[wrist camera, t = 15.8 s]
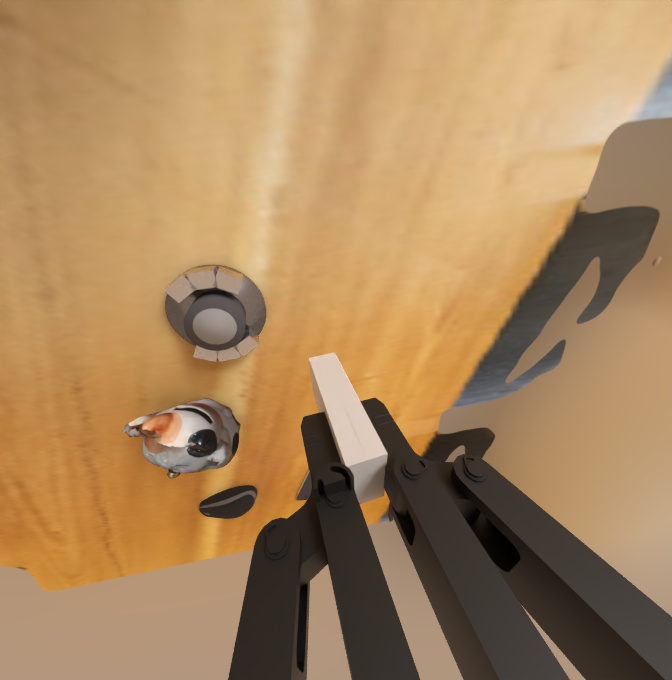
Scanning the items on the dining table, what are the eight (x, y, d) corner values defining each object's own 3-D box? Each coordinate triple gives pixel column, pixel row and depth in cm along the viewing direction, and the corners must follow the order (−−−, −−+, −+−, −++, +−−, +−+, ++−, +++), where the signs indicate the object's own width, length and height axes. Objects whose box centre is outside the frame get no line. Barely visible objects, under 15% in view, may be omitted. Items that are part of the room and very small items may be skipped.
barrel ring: (273, 339, 39) (274, 351, 36) (188, 355, 36) (182, 369, 33) (255, 259, 33) (255, 265, 30) (150, 271, 30) (138, 279, 27)
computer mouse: (194, 499, 53) (191, 519, 50) (251, 479, 55) (251, 497, 52) (207, 514, 57) (204, 533, 53) (260, 495, 59) (261, 512, 55)
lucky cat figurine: (139, 441, 41) (73, 491, 28) (176, 378, 43) (130, 395, 29) (223, 472, 45) (201, 530, 31) (255, 412, 46) (247, 442, 32)
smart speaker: (187, 331, 34) (180, 345, 30) (194, 283, 31) (186, 294, 28) (240, 340, 37) (239, 354, 33) (250, 297, 34) (250, 308, 31)
